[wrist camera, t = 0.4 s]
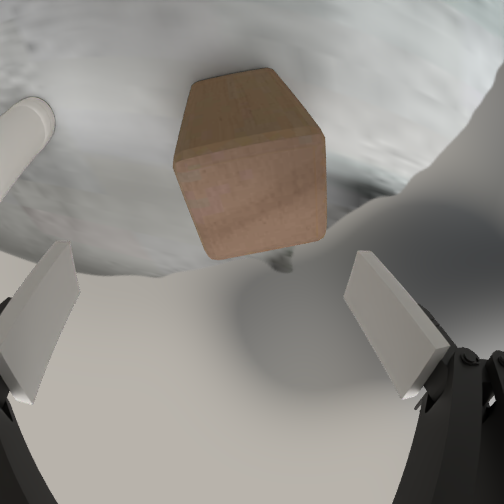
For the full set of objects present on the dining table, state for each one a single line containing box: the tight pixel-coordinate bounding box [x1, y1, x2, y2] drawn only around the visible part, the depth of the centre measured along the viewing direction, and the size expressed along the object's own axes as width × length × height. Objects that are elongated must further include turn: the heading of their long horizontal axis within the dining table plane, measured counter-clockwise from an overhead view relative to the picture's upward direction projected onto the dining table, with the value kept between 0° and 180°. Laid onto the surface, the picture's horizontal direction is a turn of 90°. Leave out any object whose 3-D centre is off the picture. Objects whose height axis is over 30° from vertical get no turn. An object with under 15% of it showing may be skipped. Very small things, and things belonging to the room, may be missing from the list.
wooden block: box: [173, 68, 327, 260], centre depth 28 cm, size 10×10×20 cm
